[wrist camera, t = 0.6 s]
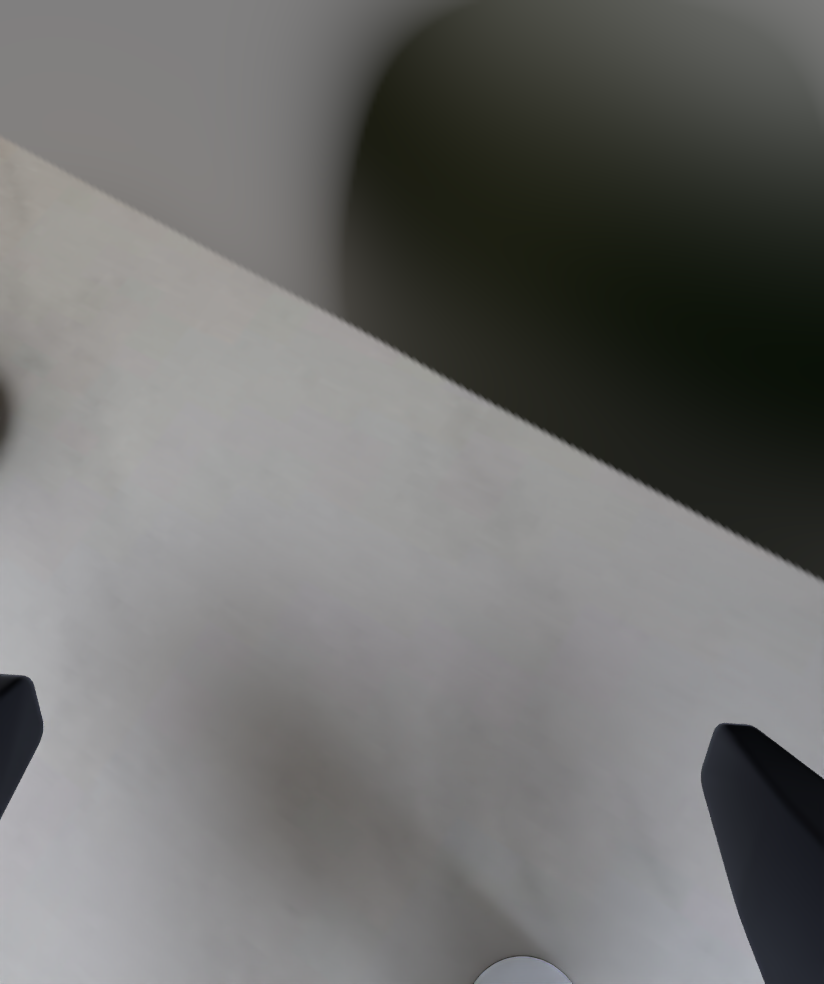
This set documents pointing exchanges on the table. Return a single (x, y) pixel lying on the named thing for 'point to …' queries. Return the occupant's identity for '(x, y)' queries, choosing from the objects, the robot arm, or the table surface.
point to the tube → (522, 972)
